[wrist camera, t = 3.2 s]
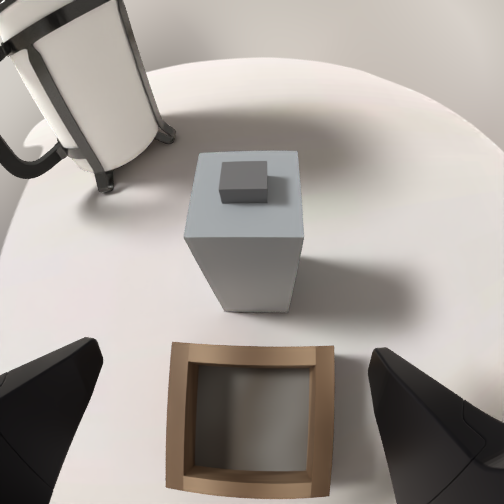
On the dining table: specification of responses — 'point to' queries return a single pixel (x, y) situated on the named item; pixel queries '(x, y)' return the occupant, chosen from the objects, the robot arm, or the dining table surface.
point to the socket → (250, 420)
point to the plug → (247, 227)
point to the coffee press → (81, 84)
